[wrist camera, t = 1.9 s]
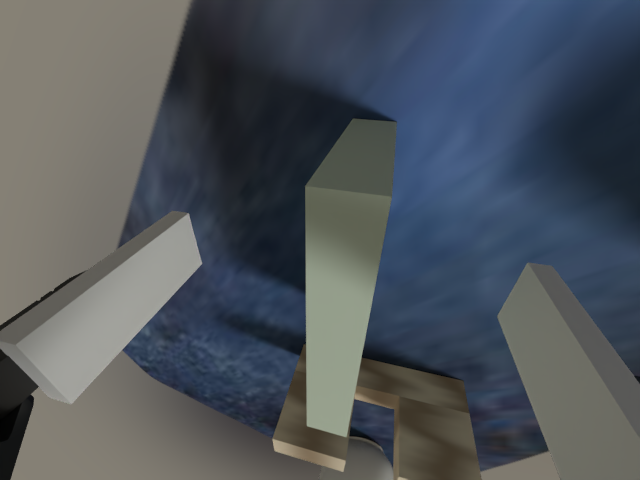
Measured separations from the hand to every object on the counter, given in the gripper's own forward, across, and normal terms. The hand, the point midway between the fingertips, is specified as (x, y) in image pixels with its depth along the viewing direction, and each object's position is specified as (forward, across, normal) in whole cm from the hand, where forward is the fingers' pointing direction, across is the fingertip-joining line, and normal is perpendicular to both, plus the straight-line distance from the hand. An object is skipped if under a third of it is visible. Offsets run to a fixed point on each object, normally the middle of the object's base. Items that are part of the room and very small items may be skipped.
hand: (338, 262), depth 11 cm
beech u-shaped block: (+9, +4, -20) cm, 22 cm away
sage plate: (+9, 0, -4) cm, 10 cm away
